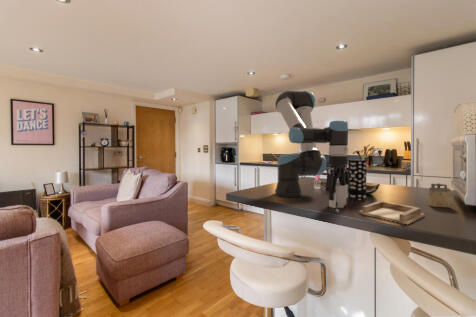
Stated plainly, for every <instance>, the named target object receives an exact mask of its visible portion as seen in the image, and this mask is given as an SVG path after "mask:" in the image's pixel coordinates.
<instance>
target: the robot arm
mask: <svg viewBox="0 0 476 317" xmlns="http://www.w3.org/2000/svg"><path fill="white" fill-rule="evenodd" d="M274 104H275V108H276V110H277V112H278V113H279V114H281V116H282V118H283V120H284V121H285V123H286V126H287V127H288V129H289V130H288V140H289V142H290V143H293V144H300V149H301V150H300V152H299V153H286V154H281V155H279V156H278V158H277V183H276V188H275V190H274V192H275V193H274V195H275V196H277V197H281V198H298V197H299V198H300V197H302V196H303V190H302V187H301V184H300V177H305V176H306V177H309V176H314V177H315V176H321V175H322V174H324V172H325V171H326V181H325V192H326V193H328V202H329V203H328V205H329V206H328V207H329V208H333V209H335V208H336V193H335V189H336V184H337V183H340V185H342V186H345V184H347V185H348V191H349V188H350V185H349V168H348V167H346V166H345V165H348V160H349V159H348V156H347V155H348V152H349V151H348V150H349V147H348V144H349V143H348V142H349V124H348V123H349V122H348V121H346V120H342V119H341V120H340V119H338V120H331V121H330V122H329V124H328V125H329V126H326V127H314V126H313V120H312V112H313V110H314V108H315V105H316V98H315V95H314V93H313V92H312V91H307V90H302V91H301V90H298V91H297V90H287V91H283V92H281V93H280V94H279V95H278V96H277V98H276V99H275V103H274ZM327 143H328V145H329V147H328V148H329V149H328V155H330V156H329V157H328V164H329V165H331V166H330V168H327V159H326V157H325V155H323V154H321V151H320V150H319V149H317V144H327ZM326 168H327V169H326ZM338 181H339V182H338ZM344 206H347V202H346V203H345V205H344ZM336 209H337V208H336Z"/></svg>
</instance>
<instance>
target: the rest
mask: <svg viewBox="0 0 476 317" xmlns="http://www.w3.org/2000/svg"><path fill="white" fill-rule="evenodd" d="M361 208H362V209H361V210H359V211H358V212H359V213H358V214H360V215H365V216H369V217H372V218H376V219H380V218H381V220H384V219H385V221H388V220H389V222H392V221H394V222H393V223H397V222H398V224H401V223H402V224H401V225H405V224H407V225H406V226H409V225H410V223H411V224H412V222H413V223H414V222H416V221H418V220H420V219H422V218H424V217H425V213H424V212H423V213H422V212H421V207H416V206H412V205H405V204H399V203H393V202H388V201H382V200H379V201H375V202H373V203H369V204H366V205H363V206H361ZM408 224H409V225H408Z"/></svg>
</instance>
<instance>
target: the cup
mask: <svg viewBox="0 0 476 317" xmlns="http://www.w3.org/2000/svg"><path fill="white" fill-rule="evenodd" d="M335 193H336V209H337V208H338V209H343V208H344V207H345V206H346V205H345V203H346V204H347V198H348V185H347V184H345V186H342V185H340V182H337V184H336V189H335Z"/></svg>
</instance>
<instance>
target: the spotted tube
mask: <svg viewBox="0 0 476 317" xmlns="http://www.w3.org/2000/svg"><path fill="white" fill-rule="evenodd" d="M367 164H368V162H367V159H348V163H347V168H349V185H350V188H349V191H348V193H347V198H348V199H349V200H355V201H365V200H366V199H367V169H368V168H367Z"/></svg>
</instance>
